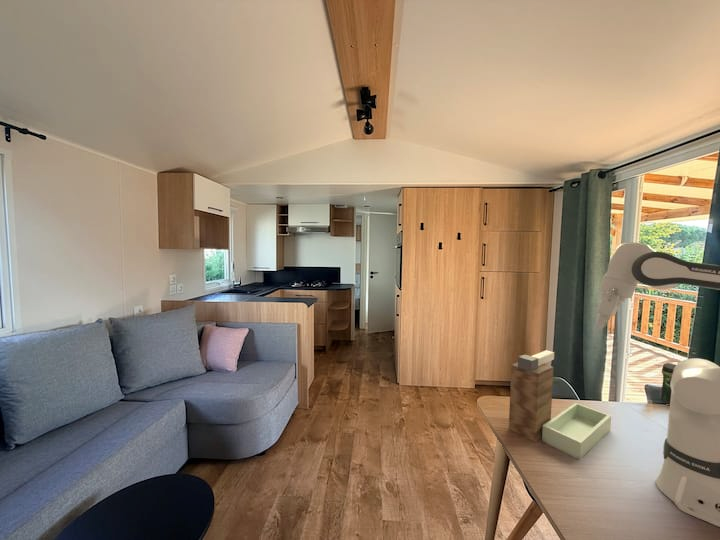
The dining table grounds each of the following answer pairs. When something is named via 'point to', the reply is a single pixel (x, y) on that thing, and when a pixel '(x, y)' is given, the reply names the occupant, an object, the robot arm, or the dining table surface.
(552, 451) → the dining table surface
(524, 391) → the stand
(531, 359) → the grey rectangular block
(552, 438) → the bin
